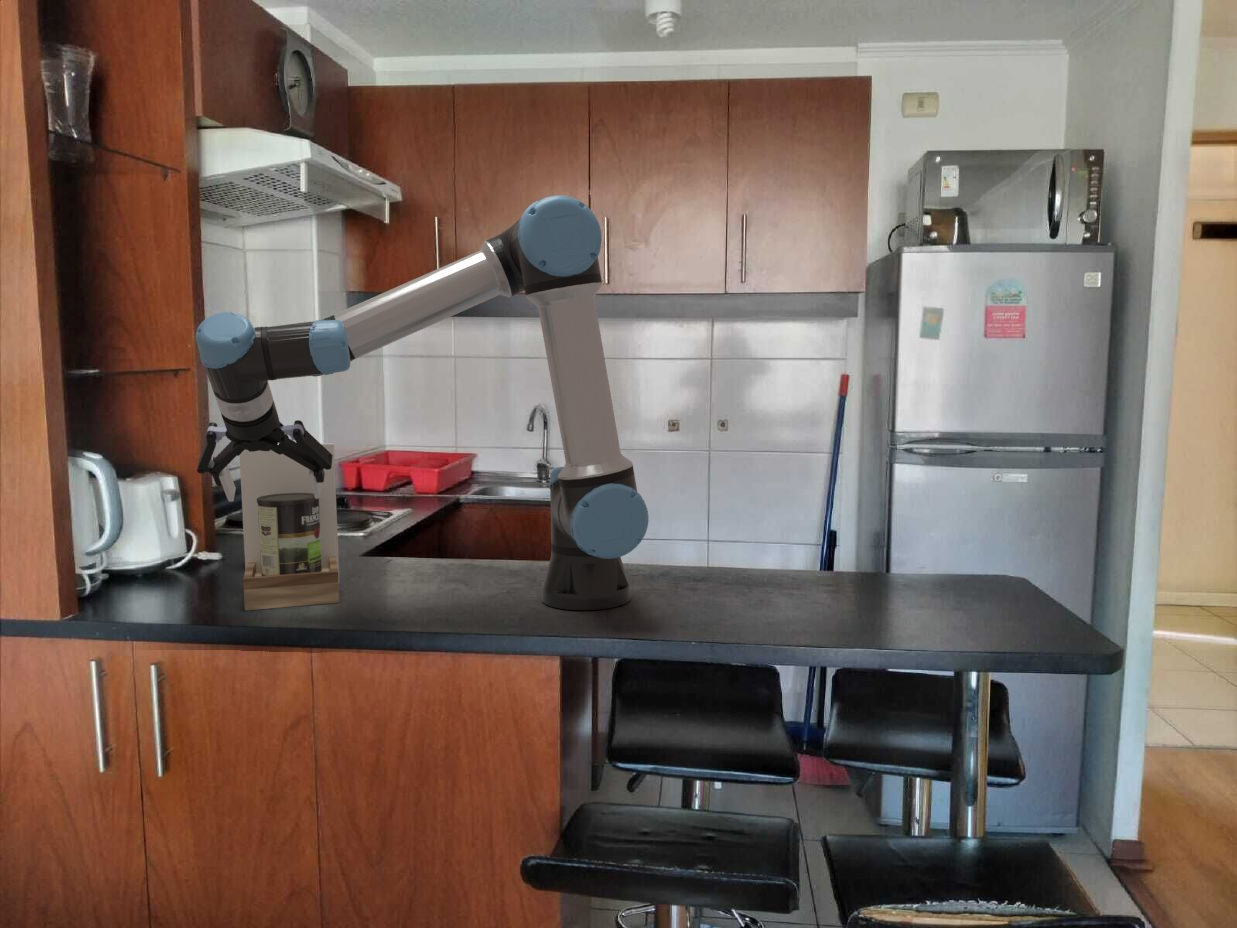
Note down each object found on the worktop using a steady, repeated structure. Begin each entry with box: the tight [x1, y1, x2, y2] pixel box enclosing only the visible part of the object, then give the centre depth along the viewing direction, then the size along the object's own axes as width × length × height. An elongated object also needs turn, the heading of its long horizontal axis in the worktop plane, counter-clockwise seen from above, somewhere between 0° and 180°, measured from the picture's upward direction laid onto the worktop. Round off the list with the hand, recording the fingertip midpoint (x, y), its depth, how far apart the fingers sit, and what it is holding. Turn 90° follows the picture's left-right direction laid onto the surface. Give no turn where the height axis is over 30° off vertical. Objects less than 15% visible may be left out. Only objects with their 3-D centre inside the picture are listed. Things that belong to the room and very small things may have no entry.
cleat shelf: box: [242, 556, 340, 611], centre depth 162 cm, size 14×15×5 cm
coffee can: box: [257, 493, 322, 576], centre depth 163 cm, size 10×10×14 cm
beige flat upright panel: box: [239, 442, 340, 585], centre depth 169 cm, size 2×16×26 cm, turn 109°
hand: (275, 493), depth 153 cm, fingers open, 13 cm apart
